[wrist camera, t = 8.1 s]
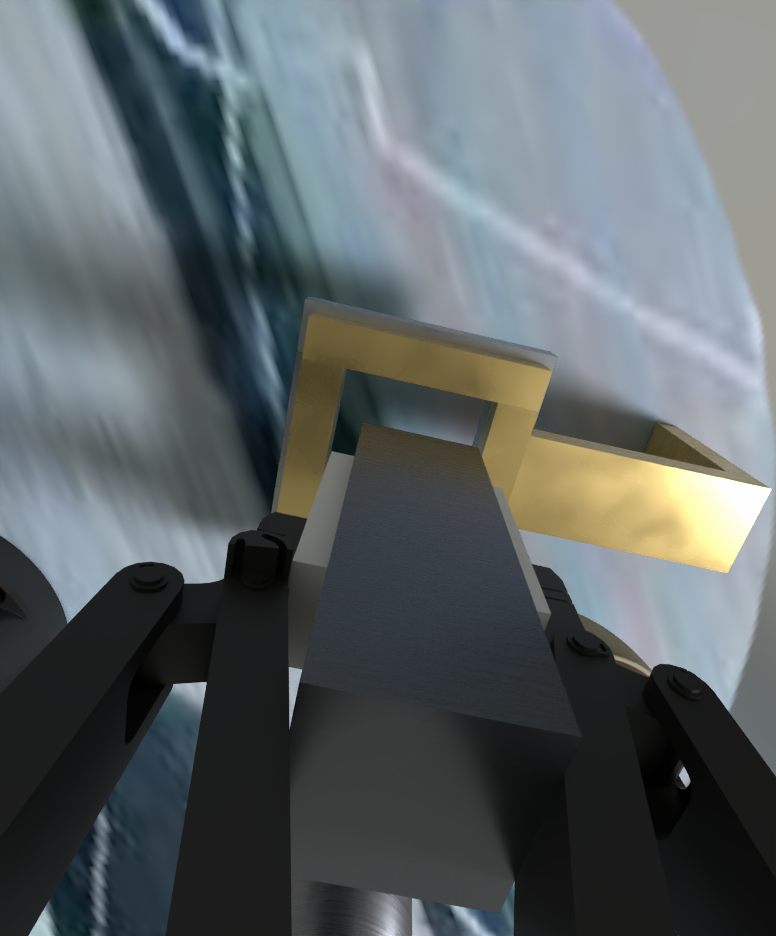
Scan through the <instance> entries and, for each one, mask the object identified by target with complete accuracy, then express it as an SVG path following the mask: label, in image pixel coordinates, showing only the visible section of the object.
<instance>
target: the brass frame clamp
mask: <svg viewBox="0 0 776 936" xmlns="http://www.w3.org/2000/svg"><path fill="white" fill-rule="evenodd" d="M557 358H558V357H557V356H555V355H554V354H553V353H551V352H549V351H545V350H541V349H536V348H532V347H528V346H523V345H519V344H515V343H510V342H506V341H502V340H497V339H493V338H489V337H484V336H480V335H476V334H471V333H467V332H463V331H458V330H454V329H450V328H445V327H441V326H437V325H432V324H428V323H424V322H419V321H415V320H411V319H406V318H402V317H398V316H393V315H389V314H385V313H380V312H376V311H372V310H367V309H363V308H359V307H354V306H350V305H346V304H341V303H337V302H333V301H328V300H324V299H320V298H316V297H311V296H310V297H308V298H306V299H305V304H304V310H303V316H302V322H301V329H300V335H299V341H298V348H297V354H296V360H295V366H294V373H293V379H292V385H291V391H290V398H289V404H288V410H287V417H286V423H285V429H284V435H283V442H282V448H281V454H280V461H279V467H278V473H277V479H276V486H275V492H274V498H273V504H272V511H271V514H272V513H273V512H279V513H283V514H288V515H293V516H298V517H302V518H307V519H308V516H309V513H310V511H311V508H312V505H313V502H314V499H315V497H316V494H317V491H318V488H319V486H320V483H321V480H322V477H323V474H324V472H325V469H326V466H327V463H328V460H329V458H330V454H331V449H332V444H333V439H334V434H335V429H336V423H337V418H338V413H339V408H340V403H341V398H342V393H343V388H344V382H345V377H346V372H347V369H350V370H355V371H359V372H364V373H368V374H373V375H377V376H381V377H386V378H390V379H395V380H399V381H404V382H408V383H413V384H417V385H422V386H426V387H431V388H435V389H439V390H444V391H448V392H453V393H457V394H462V395H466V396H471V397H475V398H480V399H484V400H486V401H485V404H484V407H483V411H482V414H481V418H480V421H479V424H478V428H477V431H476V435H475V438H474V441H473V445H472V446H473V447H478V448H479V450H480V453H481V456H482V458H483V461H484V464H485V467H486V470H487V472H488V475H489V478H490V481H491V484H492V486H494V487H499V488H502V490H503V492H504V495H505V497H506V500H507V502H508V505H509V507H510V510H511V512H512V515H513V518H514V520H515V523H516V525H517V528H518V529H522V530H526V531H531V532H536V533H541V534H545V535H550V536H555V537H560V538H564V539H569V540H574V541H578V542H583V543H588V544H593V545H597V546H602V547H607V548H612V549H616V550H621V551H626V552H630V553H635V554H640V555H645V556H649V557H654V558H659V559H664V560H668V561H673V562H678V563H683V564H687V565H692V566H697V567H701V568H706V569H711V570H716V571H720V572H725V573H728V571H729V569H730V567H731V565H732V563H733V561H734V559H735V557H736V556H737V554H738V552H739V550H740V548H741V546H742V544H743V542H744V540H745V538H746V536H747V535H748V533H749V531H750V529H751V527H752V525H753V523H754V521H755V519H756V517H757V515H758V514H759V512H760V510H761V508H762V506H763V504H764V502H765V500H766V498H767V496H768V494H769V492H770V491H771V489H770V488H769V487H767V486H766V485H764V484H763V483H761V482H760V481H758V480H757V479H755V478H754V477H752V476H751V475H749V474H748V473H746V472H745V471H743V470H742V469H740V468H738V467H737V466H735V465H734V464H732V463H731V462H729V461H728V460H726V459H725V458H723V457H722V456H720V455H719V454H717V453H716V452H714V451H713V450H711V449H710V448H708V447H707V446H705V445H704V444H702V443H701V442H699V441H698V440H696V439H695V438H693V437H692V436H690V435H689V434H687V433H686V432H684V431H683V430H681V429H680V428H678V427H675V426H670V425H666V424H661V423H656V425H655V427H654V430H653V432H652V435H651V437H650V439H649V442H648V444H647V446H646V449H645V451H644V453H641V452H636V451H632V450H627V449H623V448H618V447H614V446H609V445H605V444H600V443H596V442H591V441H587V440H582V439H578V438H573V437H569V436H564V435H560V434H555V433H551V432H546V431H542V430H537V429H534V426H535V423H536V420H537V417H538V414H539V411H540V408H541V405H542V402H543V400H544V397H545V394H546V391H547V388H548V385H549V382H550V379H551V376H552V373H553V370H554V367H555V364H556V361H557ZM291 915H292V936H412V898H409V897H404V896H398V895H392V894H387V893H381V892H375V891H369V890H364V889H358V888H352V887H347V886H341V885H335V884H330V883H324V882H318V881H313V880H307V879H301V878H296V877H291Z"/></svg>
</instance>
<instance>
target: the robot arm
mask: <svg viewBox="0 0 776 936" xmlns="http://www.w3.org/2000/svg"><path fill="white" fill-rule="evenodd" d="M354 457H355V456H352V455H347V454H342V453H338V452H333V451H332V452H331V455H330V458H329V460H328V463H327V466H326V469H325V472H324V474H323V477H322V480H321V483H320V486H319V488H318V491H317V494H316V497H315V499H314V502H313V505H312V508H311V511H310V513H309V516H308V519H307V518H302V517H298V516H293V515H288V514H283V513H279V512H273V513H272V514H270V515H268V516H267V517H265V518H263V519H262V521H261V523H260V525H259V527H258V529H257V530H250V531H246V532H241V533H239V534H237V535H235V536H233V537H232V538H231V540H230V542H229V544H228V552H227V559H226V567H225V575H224V579H222V580H220V581H216V582H212V583H202V584H184V578H183V575H182V573H181V572H180V571H178V570H177V569H176V568H175V567H172V566H169V565H167V564H164V563H156V562H144V563H136V564H133V565H130V566H127V567H125V568H123V569H122V570H120V571H119V572H117V573H116V574H115V575H114V576H113V577H112V578H111V579H110V580H109V581H108V582H107V584H106V585H105V586H104V587H103V588H102V589H101V590H100V591H99V592H98V593H97V594H96V595H95V596H94V597H93V598H92V599H91V600H90V601H89V602H88V603H87V604H86V605H85V606H84V607H83V608H82V610H81V611H80V612H79V613H78V614H77V615H76V616H75V617H74V618H73V619H72V620H71V621H70V622H69V623H68V624H67V621H66V617H65V614H64V610H63V608H62V605H61V603H60V601H59V599H58V597H57V595H56V593H55V592H54V590H53V588H52V587H51V585H50V584H49V582H48V581H47V580H46V578H45V577H44V576H43V574H42V573H41V572H40V571H39V570H38V569H37V567H36V566H35V565H34V564H33V563H32V562H31V561H30V560H29V559H28V558H26V557H25V556H24V555H23V554H22V553H21V552H20V551H18V550H17V549H16V548H15V547H13V546H12V545H10V544H9V543H8V542H6V541H5V540H3V539H2V538H0V936H28V935H29V934H30V932H31V930H32V929H33V927H34V925H35V923H36V922H37V920H38V918H39V917H40V915H41V913H42V911H43V910H44V908H45V906H46V904H47V903H48V901H49V899H50V898H51V896H52V894H53V892H54V891H55V889H56V887H57V886H58V884H59V882H60V880H61V879H62V877H63V875H64V874H65V872H66V870H67V868H68V867H69V865H70V863H71V862H72V860H73V858H74V856H75V855H76V853H77V851H78V849H79V848H80V846H81V844H82V843H83V841H84V839H85V837H86V836H87V834H88V832H89V831H90V829H91V827H92V825H93V824H94V822H95V820H96V819H97V817H98V815H99V813H100V812H101V810H102V808H103V807H104V805H105V803H106V801H107V800H108V798H109V796H110V795H111V793H112V791H113V789H114V788H115V786H116V784H117V782H118V781H119V779H120V777H121V776H122V774H123V772H124V770H125V769H126V767H127V765H128V764H129V762H130V760H131V758H132V757H133V755H134V753H135V752H136V750H137V748H138V746H139V745H140V743H141V741H142V740H143V738H144V736H145V734H146V733H147V731H148V729H149V727H150V726H151V724H152V722H153V721H154V719H155V717H156V715H157V714H158V712H159V710H160V709H161V707H162V705H163V703H164V702H165V700H166V698H167V697H168V695H169V693H170V691H171V690H172V687H173V684H180V683H195V682H207V685H206V691H205V697H204V704H203V710H202V716H201V722H200V728H199V734H198V740H197V746H196V753H195V759H194V765H193V771H192V777H191V783H190V789H189V795H188V802H187V808H186V814H185V820H184V826H183V832H182V838H181V844H180V851H179V857H178V863H177V869H176V875H175V881H174V887H173V893H172V899H171V906H170V912H169V918H168V924H167V930H166V936H292V915H291V830H290V745H289V667H293V668H298V669H303V666H304V661H305V657H306V653H307V649H308V645H309V641H310V637H311V633H312V629H313V625H314V621H315V616H316V612H317V608H318V604H319V600H320V596H321V592H322V588H323V584H324V580H325V575H326V571H327V567H328V563H329V559H330V555H331V551H332V547H333V543H334V539H335V534H336V530H337V526H338V522H339V518H340V514H341V510H342V506H343V502H344V498H345V493H346V489H347V485H348V481H349V477H350V473H351V469H352V465H353V461H354ZM493 489H494V492H495V495H496V498H497V500H498V503H499V506H500V509H501V512H502V514H503V517H504V520H505V523H506V526H507V528H508V531H509V534H510V537H511V540H512V542H513V545H514V548H515V551H516V554H517V556H518V559H519V562H520V565H521V568H522V570H523V573H524V576H525V579H526V582H527V584H528V587H529V590H530V593H531V596H532V598H533V601H534V604H535V607H536V610H537V612H538V615H539V618H540V621H541V624H542V626H543V629H544V632H545V635H546V638H547V640H548V643H549V646H550V649H551V652H552V654H553V657H554V660H555V663H556V666H557V668H558V671H559V674H560V677H561V680H562V682H563V685H564V688H565V691H566V694H567V696H568V699H569V702H570V705H571V708H572V710H573V713H574V716H575V719H576V722H577V724H578V727H579V730H580V733H581V736H582V738H581V741H580V743H579V745H578V747H577V749H576V751H575V753H574V755H573V758H572V760H571V762H570V764H569V766H568V768H567V770H566V772H565V775H564V777H563V779H562V781H561V783H560V785H559V787H558V789H557V792H556V794H555V796H554V798H553V800H552V802H551V804H550V806H549V809H548V811H547V813H546V815H545V817H544V819H543V821H542V823H541V826H540V828H539V830H538V832H537V834H536V836H535V838H534V840H533V843H532V845H531V847H530V849H529V851H528V853H527V855H526V857H525V860H524V862H523V864H522V866H521V868H520V870H519V872H518V874H517V877H516V879H515V896H514V936H776V776H775V775H774V774H773V772H772V771H771V769H770V768H769V767H768V765H767V764H766V763H765V761H764V760H763V758H762V757H761V756H760V754H759V753H758V752H757V750H756V749H755V747H754V746H753V745H752V743H751V742H750V741H749V739H748V738H747V736H746V735H745V734H744V732H743V731H742V730H741V728H740V727H739V725H738V724H737V723H736V721H735V720H734V719H733V717H732V716H731V714H730V713H729V712H728V710H727V709H726V708H725V706H724V705H723V703H722V702H721V701H720V699H719V698H718V697H717V695H716V694H715V692H714V691H713V690H712V689H711V688H710V687H709V686H708V685H707V684H706V683H705V682H704V681H703V680H701V679H700V678H698V677H697V676H696V675H695V674H693V673H692V672H690V671H687V670H686V669H683V668H681V667H677V666H673V665H670V664H659V665H657V666H655V667H654V668H653V670H652V672H651V674H650V676H649V678H648V677H646V676H643V675H641V674H639V673H636V672H634V671H631V670H629V669H626V668H624V667H622V666H620V665H618V664H616V663H615V658H614V655H613V653H612V651H611V649H610V647H609V646H608V645H607V644H606V643H605V642H604V641H603V640H602V639H600V638H599V637H597V636H596V635H594V634H593V633H590V632H588V631H586V630H585V629H584V626H583V624H582V622H581V620H580V618H579V616H578V613H577V611H576V609H575V607H574V605H573V604H572V600H571V598H570V596H569V594H567V590H566V588H565V585H564V583H563V581H562V580H561V579H560V578H559V577H558V576H557V575H556V574H555V573H554V572H553V571H552V570H551V569H550V568H547V567H542V566H537V565H533V564H531V561H530V558H529V556H528V553H527V551H526V548H525V546H524V543H523V541H522V538H521V535H520V533H519V530H518V528H517V525H516V523H515V520H514V518H513V515H512V512H511V510H510V507H509V505H508V502H507V500H506V497H505V495H504V492H503V490H502V488H499V487H494V486H493ZM683 767H685V769H686V771H687V773H688V775H689V778H690V781H691V782H690V784H689V786H688V787H687V788H686V787H685V785H684V784H683V782H682V780H681V779H680V777H679V774H680V772H681V770H682V769H683Z"/></svg>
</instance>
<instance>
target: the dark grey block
mask: <svg viewBox="0 0 776 936" xmlns="http://www.w3.org/2000/svg"><path fill="white" fill-rule="evenodd" d="M581 738H582V736H581V733H580V730H579V727H578V724H577V722H576V719H575V716H574V713H573V710H572V708H571V705H570V702H569V699H568V696H567V694H566V691H565V688H564V685H563V682H562V680H561V677H560V674H559V671H558V668H557V666H556V663H555V660H554V657H553V654H552V652H551V649H550V646H549V643H548V640H547V638H546V635H545V632H544V629H543V626H542V624H541V621H540V618H539V615H538V612H537V610H536V607H535V604H534V601H533V598H532V596H531V593H530V590H529V587H528V584H527V582H526V579H525V576H524V573H523V570H522V568H521V565H520V562H519V559H518V556H517V554H516V551H515V548H514V545H513V542H512V540H511V537H510V534H509V531H508V528H507V526H506V523H505V520H504V517H503V514H502V512H501V509H500V506H499V503H498V500H497V498H496V495H495V492H494V489H493V486H492V484H491V481H490V478H489V475H488V472H487V470H486V467H485V464H484V461H483V458H482V456H481V453H480V450H479V448H478V447H473V446H469V445H464V444H460V443H455V442H451V441H446V440H442V439H437V438H433V437H428V436H424V435H419V434H414V433H410V432H405V431H401V430H396V429H392V428H387V427H383V426H378V425H374V424H369V423H365V422H363V424H362V428H361V432H360V436H359V440H358V444H357V448H356V452H355V457H354V461H353V465H352V469H351V473H350V477H349V481H348V485H347V489H346V493H345V498H344V502H343V506H342V510H341V514H340V518H339V522H338V526H337V530H336V534H335V539H334V543H333V547H332V551H331V555H330V559H329V563H328V567H327V571H326V575H325V580H324V584H323V588H322V592H321V596H320V600H319V604H318V608H317V612H316V616H315V621H314V625H313V629H312V633H311V637H310V641H309V645H308V649H307V653H306V657H305V661H304V666H303V670H302V674H301V678H300V682H299V687H298V692H297V696H296V701H295V706H294V711H293V716H292V721H291V726H290V730H289V745H290V830H291V877H296V878H301V879H307V880H313V881H318V882H324V883H330V884H335V885H341V886H347V887H352V888H358V889H364V890H369V891H375V892H381V893H387V894H392V895H398V896H404V897H409V898H415V899H421V900H426V901H432V902H438V903H443V904H449V905H455V906H460V907H466V908H472V909H478V910H483V911H489V912H495V913H500V910H501V908H502V906H503V904H504V902H505V900H506V898H507V896H508V893H509V891H510V889H511V887H512V885H513V883H514V881H515V879H516V877H517V874H518V872H519V870H520V868H521V866H522V864H523V862H524V860H525V857H526V855H527V853H528V851H529V849H530V847H531V845H532V843H533V840H534V838H535V836H536V834H537V832H538V830H539V828H540V826H541V823H542V821H543V819H544V817H545V815H546V813H547V811H548V809H549V806H550V804H551V802H552V800H553V798H554V796H555V794H556V792H557V789H558V787H559V785H560V783H561V781H562V779H563V777H564V775H565V772H566V770H567V768H568V766H569V764H570V762H571V760H572V758H573V755H574V753H575V751H576V749H577V747H578V745H579V743H580V741H581Z"/></svg>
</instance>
